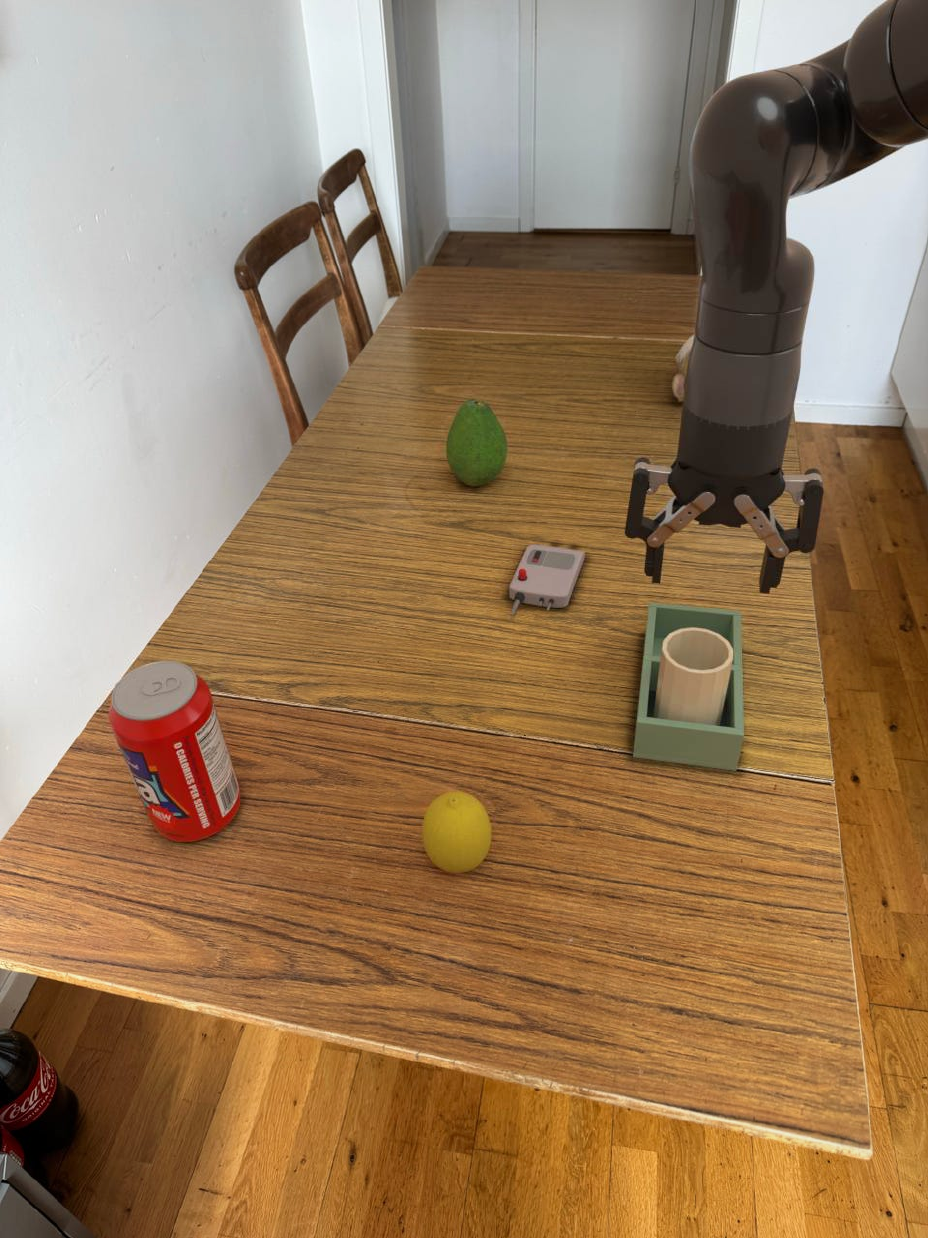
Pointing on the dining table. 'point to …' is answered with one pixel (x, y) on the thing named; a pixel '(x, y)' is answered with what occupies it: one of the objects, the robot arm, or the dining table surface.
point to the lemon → (456, 832)
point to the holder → (685, 737)
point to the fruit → (476, 444)
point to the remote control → (545, 576)
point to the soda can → (175, 750)
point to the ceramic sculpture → (681, 370)
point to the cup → (693, 676)
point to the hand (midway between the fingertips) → (709, 582)
